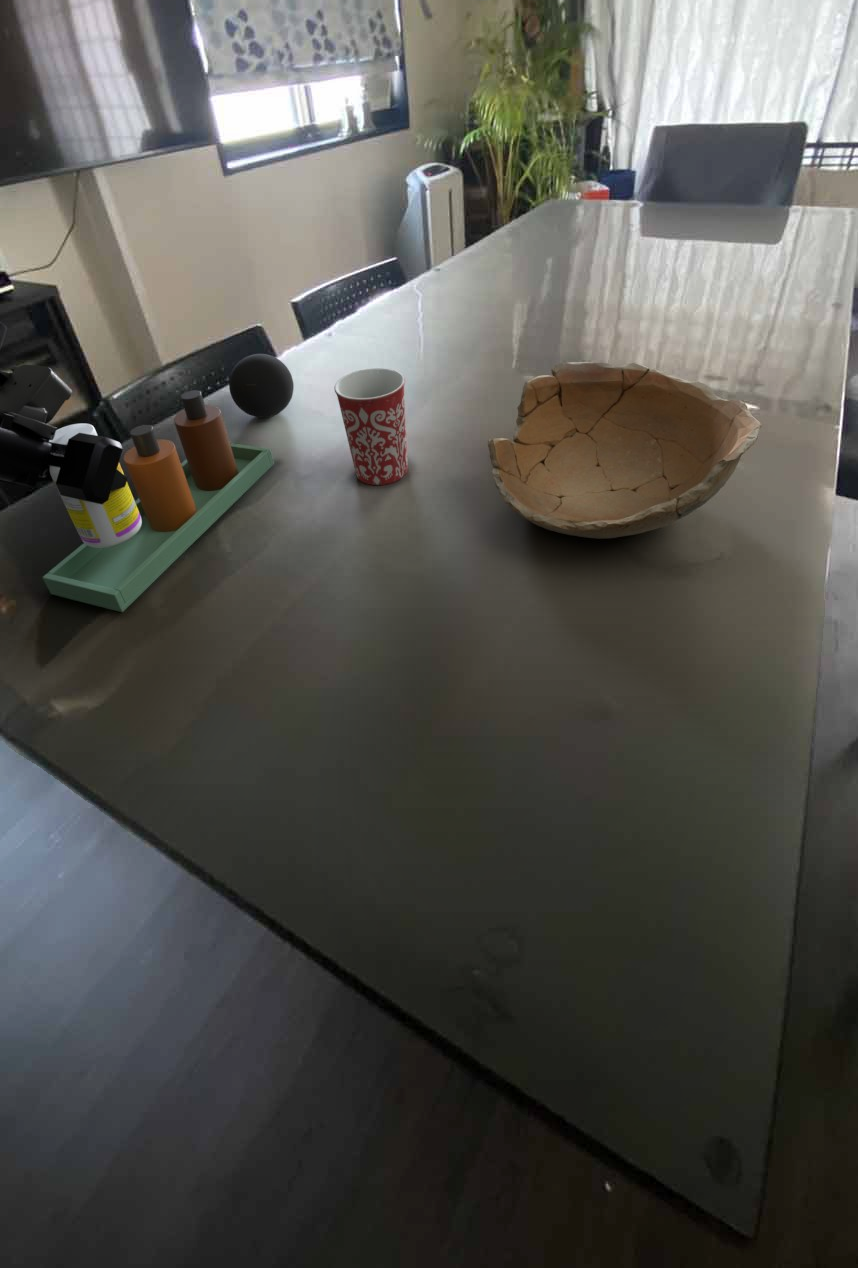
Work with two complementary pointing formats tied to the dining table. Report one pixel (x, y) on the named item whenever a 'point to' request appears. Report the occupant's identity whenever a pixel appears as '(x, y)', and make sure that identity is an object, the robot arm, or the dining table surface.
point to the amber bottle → (159, 480)
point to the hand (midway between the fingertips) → (101, 477)
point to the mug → (375, 423)
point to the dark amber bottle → (205, 443)
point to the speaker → (261, 385)
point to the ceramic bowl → (617, 449)
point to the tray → (150, 543)
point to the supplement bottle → (99, 505)
